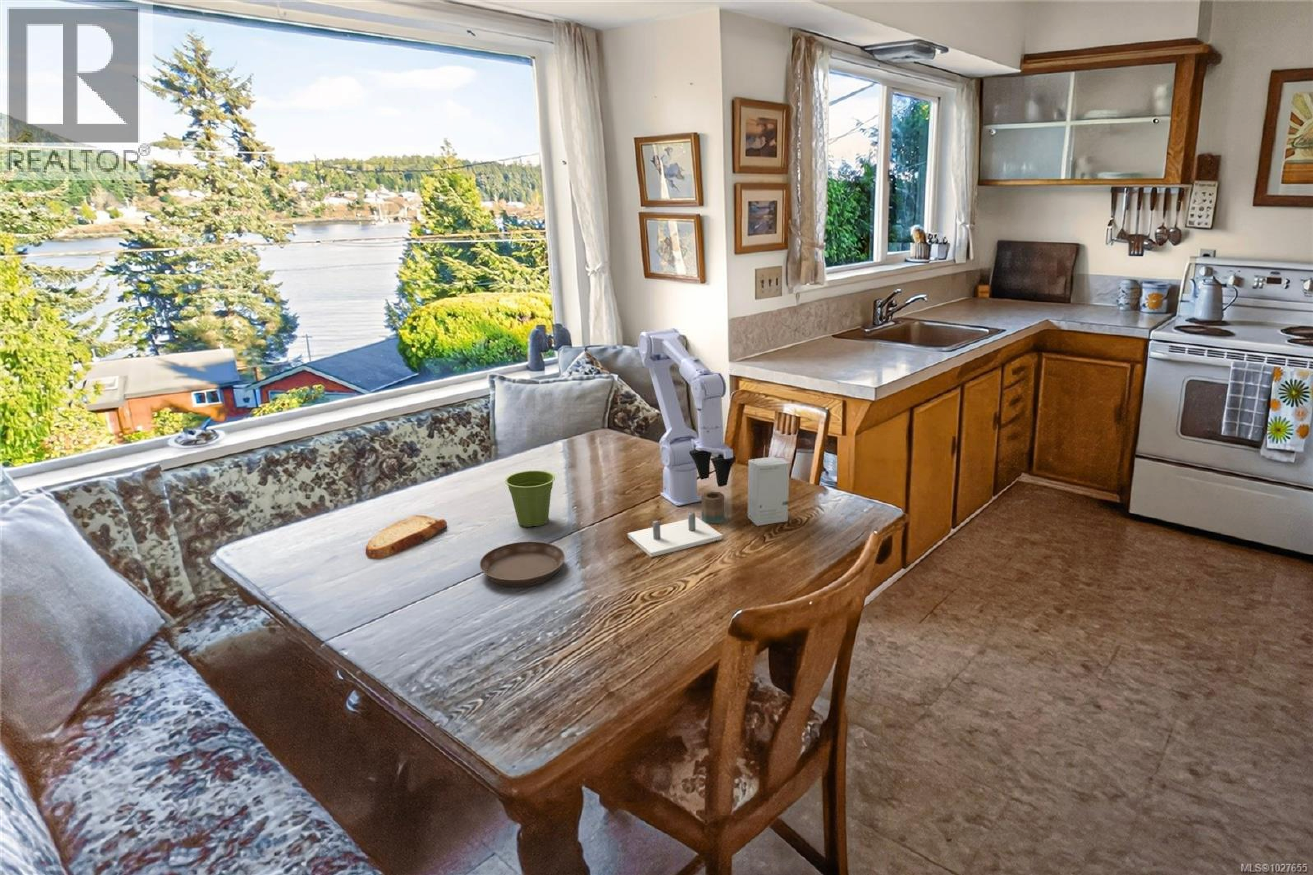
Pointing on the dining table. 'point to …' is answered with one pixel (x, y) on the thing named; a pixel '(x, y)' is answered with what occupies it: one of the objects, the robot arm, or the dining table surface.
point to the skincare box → (768, 490)
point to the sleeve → (712, 507)
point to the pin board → (674, 536)
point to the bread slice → (403, 535)
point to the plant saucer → (522, 563)
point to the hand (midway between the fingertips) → (713, 482)
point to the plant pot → (531, 496)
